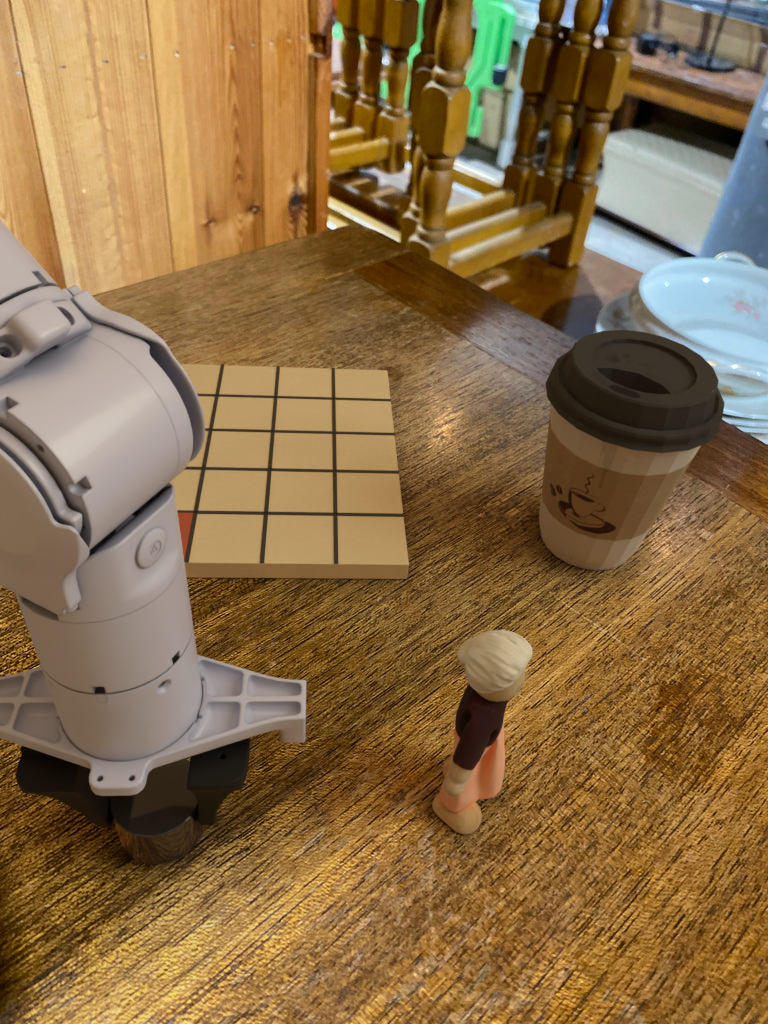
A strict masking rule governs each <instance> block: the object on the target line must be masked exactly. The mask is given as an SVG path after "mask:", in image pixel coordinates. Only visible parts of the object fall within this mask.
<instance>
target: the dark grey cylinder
mask: <svg viewBox="0 0 768 1024" xmlns="http://www.w3.org/2000/svg"><path fill="white" fill-rule="evenodd" d="M189 765H190V760H189V759H188V758H184V759H181V760H178V761H175V762H172V763H169V764H166V765H163V766H160V767H156V768H154V769H152V770H151V771H150V772H149V773H148V776H147V781H146V785H145V787H144V789H143V790H142V791H140V792H139V793H138V794H135V795H131V796H110V811H111V814H112V817H113V824H114V826H115V829H116V832H117V836H118V838H119V841H120V844H121V847H122V848H123V850H124V852H126V853H127V854H128V855H129V856H130V857H131V858H133V859H134V860H135V861H138V862H140V863H143V864H150V865H163V864H168V863H172V862H174V861H177V860H179V859H181V858H183V857H184V856H185V855H187V854H188V853H190V852H191V851H192V850H193V849H194V848H195V847H196V845H197V844H198V843H199V842H200V840H201V839H202V837H203V834H204V832H205V830H206V827H207V825H201V824H200V822H199V815H198V802H197V800H196V797H195V795H194V794H193V793H192V791H189V790H187V779H188V772H189Z"/></svg>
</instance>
